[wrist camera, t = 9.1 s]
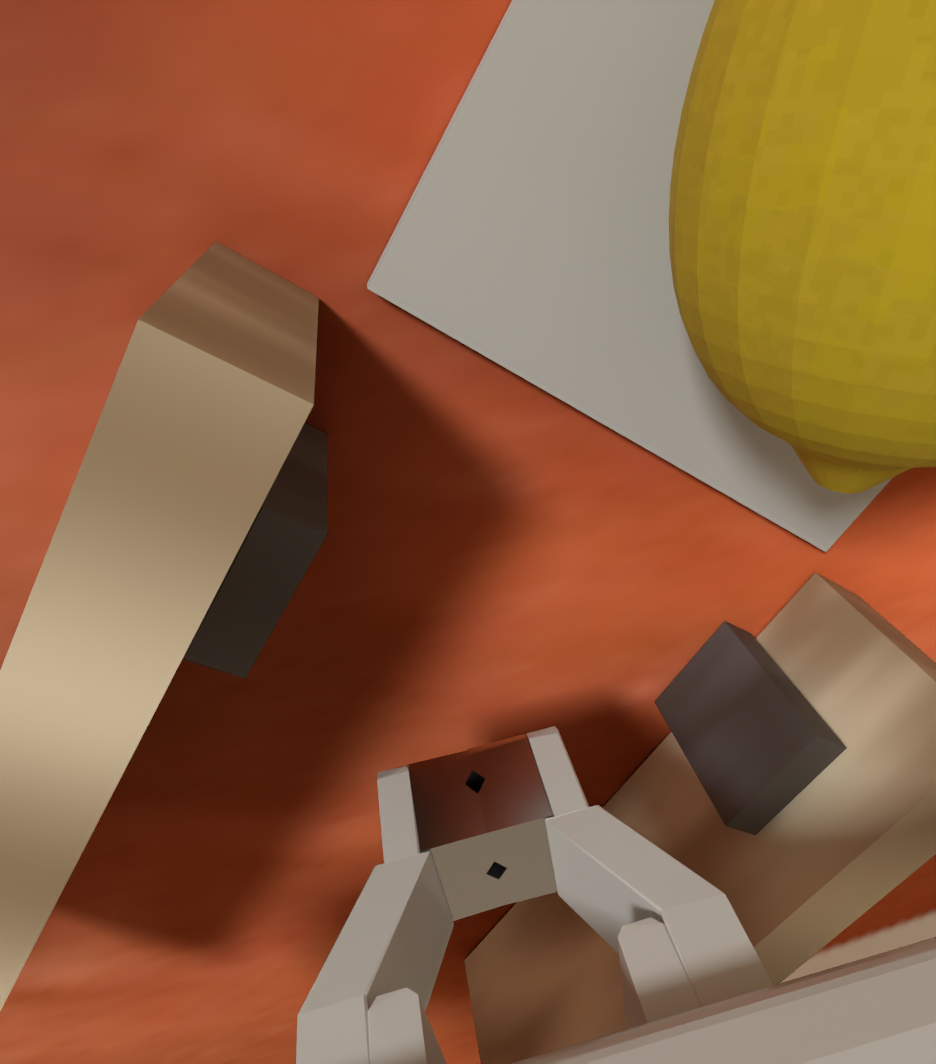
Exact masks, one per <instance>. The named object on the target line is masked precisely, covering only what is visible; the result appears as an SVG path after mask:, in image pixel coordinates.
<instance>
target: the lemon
mask: <svg viewBox="0 0 936 1064" xmlns="http://www.w3.org/2000/svg"><path fill="white" fill-rule="evenodd" d="M669 250H670V261H671V270H672V279H673V286H674V290H675V295H676V299H677V303H678V308H679V312H680V315H681V318H682V321H683V323H684V326H685V328H686V331H687V334H688V336H689V339H690V342H691V344H692V346H693V348H694V351H695V353H696V355H697V357H698V358H699V360H700V362H701V364H702V365H703V367H704V369H705V371H706V373H707V374H708V376H709V378H710V379H711V380H712V382H713V383H714V384H715V386H716V387H717V388H718V389H719V391H720V392H721V393H722V394H723V396H724V397H725V398H726V399H727V400H728V401H729V402H730V403H731V404H733V405H734V406H735V407H736V408H737V409H738V410H739V411H740V412H742V413H743V414H744V415H745V416H746V417H747V418H748V419H750V420H751V421H752V422H753V423H754V424H755V425H757V426H758V427H759V428H761V429H763V430H765V431H767V432H769V433H771V434H772V435H774V436H776V437H778V438H780V439H782V440H784V441H786V442H787V443H789V444H790V445H791V446H792V448H793V449H794V451H795V453H796V454H797V456H798V457H799V459H800V461H801V462H802V464H803V465H804V467H805V468H806V469H807V471H808V472H809V474H810V475H811V477H812V478H813V479H814V481H815V482H816V483H817V484H818V485H820V486H822V487H824V488H826V489H828V490H832V491H835V492H840V493H848V494H854V493H861V492H863V491H865V490H868V489H870V488H872V487H874V486H876V485H878V484H880V483H883V482H885V481H887V480H889V479H891V478H893V477H895V476H897V475H899V474H901V473H903V472H905V471H906V470H908V469H910V468H917V467H936V0H715V1H714V3H713V6H712V9H711V12H710V15H709V18H708V21H707V23H706V26H705V29H704V32H703V35H702V39H701V42H700V45H699V49H698V52H697V55H696V59H695V62H694V65H693V69H692V72H691V76H690V80H689V84H688V88H687V92H686V96H685V100H684V104H683V108H682V112H681V117H680V123H679V128H678V134H677V139H676V144H675V150H674V158H673V167H672V176H671V184H670V203H669Z"/></svg>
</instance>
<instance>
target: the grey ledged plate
mask: <svg viewBox="0 0 936 1064" xmlns="http://www.w3.org/2000/svg"><path fill="white" fill-rule="evenodd" d="M714 1H715V0H512V1H511V3H510V5H509V7H508V9H507V11H506V13H505V15H504V17H503V19H502V21H501V23H500V25H499V27H498V29H497V31H496V33H495V35H494V37H493V39H492V41H491V42H490V44H489V46H488V48H487V50H486V52H485V54H484V56H483V58H482V60H481V62H480V64H479V66H478V68H477V70H476V72H475V74H474V76H473V78H472V80H471V82H470V84H469V85H468V87H467V89H466V91H465V93H464V95H463V97H462V99H461V101H460V103H459V105H458V107H457V109H456V111H455V113H454V115H453V117H452V119H451V121H450V123H449V125H448V127H447V128H446V130H445V132H444V134H443V136H442V138H441V140H440V142H439V144H438V146H437V148H436V150H435V152H434V154H433V156H432V158H431V160H430V162H429V164H428V166H427V168H426V169H425V171H424V173H423V175H422V177H421V179H420V181H419V183H418V185H417V187H416V189H415V191H414V193H413V195H412V197H411V199H410V201H409V203H408V205H407V207H406V209H405V211H404V212H403V214H402V216H401V218H400V220H399V222H398V224H397V226H396V228H395V230H394V232H393V234H392V236H391V238H390V240H389V242H388V244H387V246H386V248H385V250H384V252H383V253H382V255H381V257H380V259H379V261H378V263H377V265H376V267H375V269H374V271H373V273H372V275H371V277H370V279H369V281H368V283H367V288H368V289H369V290H371V291H372V292H374V293H376V294H378V295H379V296H381V297H383V298H385V299H386V300H388V301H390V302H392V303H393V304H395V305H397V306H399V307H400V308H402V309H404V310H405V311H407V312H409V313H411V314H412V315H414V316H416V317H418V318H419V319H421V320H423V321H425V322H426V323H428V324H430V325H432V326H433V327H435V328H437V329H439V330H440V331H442V332H444V333H445V334H447V335H449V336H451V337H452V338H454V339H456V340H458V341H459V342H461V343H463V344H465V345H466V346H468V347H470V348H472V349H473V350H475V351H477V352H479V353H480V354H482V355H484V356H485V357H487V358H489V359H491V360H492V361H494V362H496V363H498V364H499V365H501V366H503V367H505V368H506V369H508V370H510V371H512V372H513V373H515V374H517V375H518V376H520V377H522V378H524V379H525V380H527V381H529V382H531V383H532V384H534V385H536V386H538V387H539V388H541V389H543V390H545V391H546V392H548V393H550V394H552V395H553V396H555V397H557V398H558V399H560V400H562V401H564V402H565V403H567V404H569V405H571V406H572V407H574V408H576V409H578V410H579V411H581V412H583V413H585V414H586V415H588V416H590V417H592V418H593V419H595V420H597V421H598V422H600V423H602V424H604V425H605V426H607V427H609V428H611V429H612V430H614V431H616V432H618V433H619V434H621V435H623V436H625V437H626V438H628V439H630V440H632V441H633V442H635V443H637V444H638V445H640V446H642V447H644V448H645V449H647V450H649V451H651V452H652V453H654V454H656V455H658V456H659V457H661V458H663V459H665V460H666V461H668V462H670V463H671V464H673V465H675V466H677V467H678V468H680V469H682V470H684V471H685V472H687V473H689V474H691V475H692V476H694V477H696V478H698V479H699V480H701V481H703V482H705V483H706V484H708V485H710V486H711V487H713V488H715V489H717V490H718V491H720V492H722V493H724V494H725V495H727V496H729V497H731V498H732V499H734V500H736V501H738V502H739V503H741V504H743V505H745V506H746V507H748V508H750V509H751V510H753V511H755V512H757V513H758V514H760V515H762V516H764V517H765V518H767V519H769V520H771V521H772V522H774V523H776V524H778V525H779V526H781V527H783V528H785V529H786V530H788V531H790V532H791V533H793V534H795V535H797V536H798V537H800V538H802V539H804V540H805V541H807V542H809V543H811V544H812V545H814V546H816V547H818V548H819V549H821V550H823V551H825V552H826V551H827V550H828V549H829V548H830V547H831V546H832V545H833V544H834V543H835V541H836V540H837V539H838V538H839V537H840V536H841V535H842V534H843V533H844V531H845V530H846V529H847V528H848V527H849V526H850V525H851V524H852V523H853V521H854V520H855V519H856V518H857V517H858V516H859V515H860V514H861V513H862V511H863V510H864V509H865V508H866V507H867V506H868V505H869V504H870V503H871V501H872V500H873V499H874V498H875V497H876V496H877V495H878V494H879V493H880V491H881V490H882V489H883V488H884V487H885V486H886V485H887V484H888V483H889V481H890V480H891V479H892V478H891V479H889V480H887V481H885V482H883V483H880V484H878V485H876V486H874V487H872V488H870V489H868V490H865V491H863V492H861V493H854V494H848V493H840V492H835V491H832V490H828V489H826V488H824V487H822V486H820V485H818V484H817V483H816V482H815V481H814V479H813V478H812V477H811V475H810V474H809V472H808V471H807V469H806V468H805V467H804V465H803V464H802V462H801V461H800V459H799V457H798V456H797V454H796V453H795V451H794V449H793V448H792V446H791V445H790V444H789V443H787V442H786V441H784V440H782V439H780V438H778V437H776V436H774V435H772V434H771V433H769V432H767V431H765V430H763V429H761V428H759V427H758V426H757V425H755V424H754V423H753V422H752V421H751V420H750V419H748V418H747V417H746V416H745V415H744V414H743V413H742V412H740V411H739V410H738V409H737V408H736V407H735V406H734V405H733V404H731V403H730V402H729V401H728V400H727V399H726V398H725V397H724V396H723V394H722V393H721V392H720V391H719V389H718V388H717V387H716V386H715V384H714V383H713V382H712V380H711V379H710V378H709V376H708V374H707V373H706V371H705V369H704V367H703V365H702V364H701V362H700V360H699V358H698V357H697V355H696V353H695V351H694V348H693V346H692V344H691V342H690V339H689V336H688V334H687V331H686V328H685V326H684V323H683V321H682V318H681V315H680V312H679V308H678V303H677V299H676V295H675V290H674V286H673V279H672V270H671V261H670V250H669V203H670V184H671V176H672V167H673V158H674V150H675V144H676V139H677V134H678V128H679V123H680V117H681V112H682V108H683V104H684V100H685V96H686V92H687V88H688V84H689V80H690V76H691V72H692V69H693V65H694V62H695V59H696V55H697V52H698V49H699V45H700V42H701V39H702V35H703V32H704V29H705V26H706V23H707V21H708V18H709V15H710V12H711V9H712V6H713V3H714Z"/></svg>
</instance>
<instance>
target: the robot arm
mask: <svg viewBox="0 0 936 1064" xmlns="http://www.w3.org/2000/svg"><path fill="white" fill-rule="evenodd" d="M377 785H378V797H379V809H380V821H381V832H382V844H383V856H384V863H382V864H379V865H376V866H375V867H374V869H373V871H372V872H371V874H370V876H369V878H368V880H367V882H366V884H365V886H364V888H363V890H362V892H361V894H360V896H359V898H358V900H357V901H356V903H355V905H354V907H353V909H352V911H351V913H350V915H349V917H348V919H347V921H346V923H345V925H344V927H343V929H342V931H341V932H340V934H339V936H338V938H337V940H336V942H335V944H334V946H333V948H332V950H331V952H330V954H329V956H328V958H327V960H326V961H325V963H324V965H323V967H322V969H321V971H320V973H319V975H318V977H317V979H316V981H315V983H314V985H313V987H312V989H311V990H310V992H309V994H308V996H307V998H306V1000H305V1002H304V1004H303V1006H302V1008H301V1010H300V1012H299V1014H298V1019H297V1050H296V1064H446V1062H445V1059H444V1057H443V1054H442V1052H441V1049H440V1047H439V1044H438V1042H437V1039H436V1037H435V1035H434V1032H433V1030H432V1027H431V1025H430V1022H429V1020H428V1017H427V1015H426V1009H427V1006H428V1003H429V1000H430V997H431V994H432V991H433V988H434V985H435V981H436V978H437V975H438V972H439V969H440V966H441V963H442V960H443V957H444V954H445V951H446V948H447V945H448V942H449V938H450V935H451V932H452V929H453V926H454V923H453V921H455V920H458V919H462V918H465V917H468V916H471V915H474V914H478V913H481V912H484V911H487V910H490V909H494V908H497V907H500V906H503V905H507V904H511V903H515V902H519V901H523V900H527V899H531V898H535V897H539V896H543V895H547V894H551V893H555V892H558V895H559V896H560V897H561V898H562V899H563V900H564V901H565V902H566V903H567V904H568V905H569V906H570V907H571V908H572V909H573V910H574V911H575V912H576V913H577V914H578V915H579V916H580V917H582V918H583V919H584V920H585V921H586V922H587V923H588V924H589V925H590V926H591V927H592V928H593V929H594V930H595V931H596V932H597V933H598V934H599V935H600V936H601V937H602V938H603V939H604V940H605V941H606V942H607V943H608V944H609V945H610V946H611V947H612V948H613V949H614V950H615V951H616V952H617V953H618V954H619V958H620V969H621V979H622V989H623V1000H624V1010H625V1021H626V1026H627V1029H625V1030H622V1031H619V1032H615V1033H612V1034H608V1035H605V1036H602V1037H598V1038H595V1039H592V1040H588V1041H585V1042H582V1043H578V1044H575V1045H571V1046H568V1047H565V1048H561V1049H558V1050H555V1051H551V1052H548V1053H545V1054H541V1055H538V1056H535V1057H531V1058H528V1059H525V1060H521V1061H518V1062H514V1063H511V1064H936V937H934V938H931V939H928V940H924V941H921V942H918V943H914V944H912V945H908V946H905V947H901V948H898V949H894V950H891V951H888V952H885V953H881V954H878V955H875V956H871V957H868V958H864V959H861V960H857V961H854V962H851V963H847V964H844V965H841V966H837V967H834V968H831V969H827V970H824V971H821V972H817V973H814V974H810V975H807V976H804V977H800V978H797V979H794V980H790V981H787V982H783V983H780V984H777V985H773V983H772V982H771V980H770V978H769V976H768V974H767V972H766V970H765V968H764V966H763V965H762V963H761V961H760V959H759V957H758V955H757V953H756V951H755V949H754V948H753V946H752V944H751V942H750V940H749V938H748V936H747V934H746V932H745V931H744V929H743V927H742V925H741V923H740V921H739V919H738V917H737V915H736V914H735V912H734V910H733V908H732V906H731V904H730V902H729V900H728V899H727V897H726V895H725V894H724V893H723V892H721V891H720V890H719V889H717V888H716V887H714V886H713V885H712V884H710V883H709V882H707V881H706V880H704V879H703V878H702V877H700V876H699V875H697V874H696V873H694V872H693V871H692V870H690V869H689V868H687V867H686V866H685V865H683V864H682V863H680V862H679V861H677V860H676V859H675V858H673V857H672V856H670V855H669V854H667V853H666V852H665V851H663V850H662V849H660V848H659V847H658V846H656V845H655V844H653V843H652V842H650V841H649V840H648V839H646V838H645V837H643V836H642V835H640V834H639V833H638V832H636V831H635V830H633V829H632V828H631V827H629V826H628V825H626V824H625V823H623V822H622V821H621V820H619V819H618V818H616V817H615V816H614V815H612V814H611V813H609V812H608V811H606V810H605V809H604V808H602V807H601V806H599V805H595V806H590V807H589V805H588V803H587V800H586V797H585V795H584V792H583V790H582V787H581V785H580V782H579V780H578V777H577V775H576V772H575V770H574V767H573V765H572V762H571V760H570V757H569V755H568V752H567V750H566V747H565V745H564V742H563V740H562V737H561V735H560V732H559V730H558V729H557V728H556V727H555V726H553V727H549V728H545V729H541V730H538V731H534V732H530V733H527V734H526V735H525V734H521V735H518V736H514V737H511V738H507V739H503V740H500V741H496V742H493V743H489V744H485V745H482V746H478V747H475V748H471V749H468V750H467V751H463V752H459V753H454V754H450V755H446V756H442V757H438V758H433V759H429V760H425V761H421V762H417V763H412V764H409V765H405V766H401V767H397V768H393V769H389V770H385V771H381V772H378V779H377ZM504 902H505V903H504Z"/></svg>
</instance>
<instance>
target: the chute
mask: <svg viewBox="0 0 936 1064" xmlns="http://www.w3.org/2000/svg"><path fill="white" fill-rule="evenodd" d="M318 307H319V298H318V297H316V296H314V295H312V294H310V293H308V292H307V291H305V290H303V289H301V288H299V287H298V286H296V285H294V284H292V283H290V282H289V281H287V280H285V279H283V278H281V277H280V276H278V275H276V274H274V273H272V272H270V271H269V270H267V269H265V268H263V267H261V266H260V265H258V264H256V263H254V262H252V261H251V260H249V259H247V258H245V257H243V256H242V255H240V254H238V253H236V252H234V251H232V250H231V249H229V248H227V247H225V246H223V245H222V244H220V243H218V242H215V243H214V244H213V245H212V246H211V247H210V248H209V249H208V250H207V251H206V252H205V253H204V254H203V255H202V256H201V257H200V258H199V259H198V260H197V261H196V262H195V263H194V264H193V265H192V266H191V267H190V268H189V269H188V270H187V271H186V272H185V273H184V274H183V275H182V276H181V277H180V278H179V279H178V280H177V281H176V282H175V283H174V284H173V285H172V286H171V287H170V288H169V289H168V290H167V291H166V292H165V293H164V294H163V295H162V296H161V297H160V298H159V299H158V300H157V301H156V302H155V303H154V304H153V305H152V306H151V307H150V308H149V309H148V310H147V311H146V312H145V313H144V314H143V315H142V316H141V317H140V318H139V319H138V322H137V324H136V327H135V329H134V332H133V334H132V337H131V340H130V342H129V345H128V347H127V350H126V352H125V355H124V357H123V360H122V362H121V365H120V367H119V370H118V373H117V375H116V378H115V380H114V383H113V385H112V388H111V390H110V393H109V395H108V398H107V401H106V403H105V406H104V408H103V411H102V413H101V416H100V418H99V421H98V423H97V426H96V429H95V431H94V434H93V436H92V439H91V441H90V444H89V446H88V449H87V451H86V454H85V457H84V459H83V462H82V464H81V467H80V469H79V472H78V474H77V477H76V479H75V482H74V485H73V487H72V490H71V492H70V495H69V497H68V500H67V502H66V505H65V507H64V510H63V513H62V515H61V518H60V520H59V523H58V525H57V528H56V530H55V533H54V535H53V538H52V541H51V543H50V546H49V548H48V551H47V553H46V556H45V558H44V561H43V563H42V566H41V569H40V571H39V574H38V576H37V579H36V581H35V584H34V586H33V589H32V591H31V594H30V597H29V599H28V602H27V604H26V607H25V609H24V612H23V614H22V617H21V619H20V622H19V624H18V627H17V630H16V632H15V635H14V637H13V640H12V642H11V645H10V647H9V650H8V652H7V655H6V658H5V660H4V663H3V665H2V668H1V670H0V1011H1V1009H2V1007H3V1005H4V1003H5V1001H6V999H7V997H8V995H9V993H10V991H11V989H12V987H13V986H14V984H15V982H16V980H17V978H18V976H19V974H20V972H21V970H22V968H23V966H24V964H25V962H26V960H27V958H28V957H29V955H30V953H31V951H32V949H33V947H34V945H35V943H36V941H37V939H38V937H39V935H40V933H41V931H42V929H43V928H44V926H45V924H46V922H47V920H48V918H49V916H50V914H51V912H52V910H53V908H54V906H55V904H56V902H57V900H58V899H59V897H60V895H61V893H62V891H63V889H64V887H65V885H66V883H67V881H68V879H69V877H70V875H71V873H72V871H73V869H74V868H75V866H76V864H77V862H78V860H79V858H80V856H81V854H82V852H83V850H84V848H85V846H86V844H87V842H88V840H89V839H90V837H91V835H92V833H93V831H94V829H95V827H96V825H97V823H98V821H99V819H100V817H101V815H102V813H103V811H104V810H105V808H106V806H107V804H108V802H109V800H110V798H111V796H112V794H113V792H114V790H115V788H116V786H117V784H118V782H119V781H120V779H121V777H122V775H123V773H124V771H125V769H126V767H127V765H128V763H129V761H130V759H131V757H132V755H133V753H134V752H135V750H136V748H137V746H138V744H139V742H140V740H141V738H142V736H143V734H144V732H145V730H146V728H147V726H148V724H149V723H150V721H151V719H152V717H153V715H154V713H155V711H156V709H157V707H158V705H159V703H160V701H161V699H162V697H163V695H164V693H165V692H166V690H167V688H168V686H169V684H170V682H171V680H172V678H173V676H174V674H175V672H176V670H177V668H178V666H179V664H180V663H181V661H182V659H183V657H184V655H185V658H184V660H187V661H190V662H193V663H196V664H200V665H203V666H206V667H209V668H213V669H216V670H219V671H222V672H226V673H229V674H232V675H235V676H239V677H242V678H246V677H247V675H248V673H249V671H250V670H251V668H252V666H253V664H254V662H255V661H256V659H257V657H258V655H259V654H260V652H261V650H262V648H263V647H264V645H265V643H266V641H267V640H268V638H269V636H270V634H271V633H272V631H273V629H274V627H275V626H276V624H277V622H278V620H279V619H280V617H281V615H282V613H283V612H284V610H285V608H286V606H287V604H288V603H289V601H290V599H291V597H292V596H293V594H294V592H295V590H296V589H297V587H298V585H299V583H300V582H301V580H302V578H303V576H304V575H305V573H306V571H307V569H308V568H309V566H310V564H311V562H312V561H313V559H314V557H315V555H316V554H317V552H318V550H319V548H320V546H321V545H322V543H323V541H324V539H325V538H326V536H327V433H325V432H323V431H321V430H319V429H317V428H314V427H312V426H310V425H308V424H306V423H305V421H306V419H307V417H308V415H309V413H310V411H311V409H312V407H313V405H314V390H315V369H316V349H317V328H318ZM185 653H186V654H185ZM655 704H656V705H657V707H658V709H659V711H660V712H661V714H662V716H663V718H664V719H665V721H666V723H667V725H668V726H669V728H670V730H671V733H670V734H669V735H668V736H667V737H666V738H665V739H664V740H663V741H662V743H661V744H660V745H659V746H658V747H657V748H656V749H655V750H654V751H653V753H652V754H651V755H650V756H649V757H648V758H647V759H646V760H645V761H644V762H643V764H642V765H641V766H640V767H639V768H638V769H637V770H636V771H635V772H634V774H633V775H632V776H631V777H630V778H629V779H628V780H627V781H626V782H625V783H624V785H623V786H622V787H621V788H620V789H619V790H618V791H617V792H616V793H615V795H614V796H613V797H612V798H611V799H610V800H609V801H608V802H607V803H606V804H605V806H604V807H603V808H604V809H605V810H606V811H608V812H609V813H611V814H612V815H614V816H615V817H616V818H618V819H619V820H621V821H622V822H623V823H625V824H626V825H628V826H629V827H631V828H632V829H633V830H635V831H636V832H638V833H639V834H640V835H642V836H643V837H645V838H646V839H648V840H649V841H650V842H652V843H653V844H655V845H656V846H658V847H659V848H660V849H662V850H663V851H665V852H666V853H667V854H669V855H670V856H672V857H673V858H675V859H676V860H677V861H679V862H680V863H682V864H683V865H685V866H686V867H687V868H689V869H690V870H692V871H693V872H694V873H696V874H697V875H699V876H700V877H702V878H703V879H704V880H706V881H707V882H709V883H710V884H712V885H713V886H714V887H716V888H717V889H719V890H720V891H721V892H723V893H724V894H725V895H726V897H727V899H728V900H729V902H730V904H731V906H732V908H733V910H734V912H735V914H736V915H737V917H738V919H739V921H740V923H741V925H742V927H743V929H744V931H745V932H746V934H747V936H748V938H749V940H750V942H751V944H752V946H753V948H754V949H755V951H756V953H757V955H758V957H759V959H760V961H761V963H762V965H763V966H764V968H765V970H766V972H767V974H768V976H769V978H770V980H771V982H772V983H773V985H777V984H779V983H780V982H782V981H783V980H784V979H785V978H786V977H788V976H789V975H790V974H791V973H793V972H794V971H795V970H796V969H797V968H799V967H800V966H801V965H802V964H803V963H805V962H806V961H807V960H808V959H809V958H811V957H812V956H813V955H814V954H816V953H817V952H818V951H819V950H820V949H822V948H823V947H824V946H825V945H826V944H828V943H829V942H830V941H831V940H832V939H834V938H835V937H836V936H837V935H838V934H840V933H841V932H842V931H843V930H845V929H846V928H847V927H848V926H849V925H851V924H852V923H853V922H854V921H855V920H857V919H858V918H859V917H860V916H861V915H863V914H864V913H865V912H866V911H867V910H869V909H870V908H871V907H872V906H874V905H875V904H876V903H877V902H878V901H880V900H881V899H882V898H883V897H884V896H886V895H887V894H888V893H889V892H890V891H892V890H893V889H894V888H895V887H896V886H898V885H899V884H900V883H901V882H903V881H904V880H905V879H906V878H907V877H909V876H910V875H911V874H912V873H913V872H915V871H916V870H917V869H918V868H919V867H921V866H922V865H923V864H924V863H925V862H927V861H928V860H929V859H930V858H932V857H933V856H934V855H935V854H936V663H935V662H934V661H933V660H931V659H930V658H929V657H928V656H927V655H926V654H925V653H923V652H922V651H921V650H920V649H919V648H918V647H917V646H915V645H914V644H913V643H912V642H911V641H910V640H909V639H907V638H906V637H905V636H904V635H903V634H902V633H901V632H900V631H898V630H897V629H896V628H895V627H894V626H893V625H892V624H890V623H889V622H888V621H887V620H886V619H885V618H884V617H882V616H881V615H880V614H879V613H878V612H877V611H876V610H874V609H873V608H872V607H871V606H870V605H869V604H868V603H866V602H865V601H864V600H863V599H862V598H861V597H859V596H857V595H855V594H853V593H852V592H850V591H848V590H846V589H844V588H843V587H841V586H839V585H837V584H835V583H834V582H832V581H830V580H828V579H826V578H824V577H823V576H821V575H819V574H817V573H815V574H814V575H813V576H812V577H811V578H810V579H809V580H808V581H807V582H806V583H805V585H804V586H803V587H802V588H801V589H800V590H799V591H798V592H797V593H796V595H795V596H794V597H793V598H792V599H791V600H790V601H789V602H788V603H787V604H786V606H785V607H784V608H783V609H782V610H781V611H780V612H779V613H778V614H777V616H776V617H775V618H774V619H773V620H772V621H771V622H770V623H769V624H768V625H767V627H766V628H765V629H764V630H763V631H762V632H761V633H760V634H759V635H758V637H757V638H756V639H755V638H754V637H753V636H752V634H750V633H748V632H746V631H744V630H742V629H740V628H738V627H736V626H733V625H731V624H729V623H727V622H724V623H723V624H722V625H721V626H720V627H719V628H718V630H717V631H716V632H715V633H714V634H713V635H712V637H711V638H710V639H709V640H708V641H707V642H706V643H705V645H704V646H703V647H702V648H701V649H700V650H699V651H698V653H697V654H696V655H695V656H694V657H693V658H692V659H691V661H690V662H689V663H688V664H687V665H686V666H685V667H684V669H683V670H682V671H681V672H680V673H679V674H678V675H677V677H676V678H675V679H674V680H673V681H672V682H671V683H670V685H669V686H668V687H667V688H666V689H665V690H664V691H663V693H662V694H661V695H660V696H659V697H658V698H657V699H656V701H655ZM464 963H465V970H466V976H467V982H468V988H469V994H470V1000H471V1006H472V1012H473V1018H474V1024H475V1030H476V1036H477V1042H478V1048H479V1054H480V1061H481V1064H511V1063H514V1062H518V1061H521V1060H525V1059H528V1058H531V1057H535V1056H538V1055H541V1054H545V1053H548V1052H551V1051H555V1050H558V1049H561V1048H565V1047H568V1046H571V1045H575V1044H578V1043H582V1042H585V1041H588V1040H592V1039H595V1038H598V1037H602V1036H605V1035H608V1034H612V1033H615V1032H619V1031H622V1030H625V1029H627V1026H626V1021H625V1010H624V1000H623V989H622V979H621V969H620V958H619V954H618V953H617V952H616V951H615V950H614V949H613V948H612V947H611V946H610V945H609V944H608V943H607V942H606V941H605V940H604V939H603V938H602V937H601V936H600V935H599V934H598V933H597V932H596V931H595V930H594V929H593V928H592V927H591V926H590V925H589V924H588V923H587V922H586V921H585V920H584V919H583V918H582V917H580V916H579V915H578V914H577V913H576V912H575V911H574V910H573V909H572V908H571V907H570V906H569V905H568V904H567V903H566V902H565V901H564V900H563V899H562V898H561V897H560V896H559V895H558V892H555V893H551V894H547V895H543V896H539V897H535V898H531V899H527V900H523V901H519V902H517V903H516V904H515V905H514V906H513V907H512V908H511V909H510V911H509V912H508V913H507V914H506V915H505V916H504V917H503V918H502V919H501V921H500V922H499V923H498V924H497V925H496V926H495V927H494V928H493V929H492V930H491V932H490V933H489V934H488V935H487V936H486V937H485V938H484V939H483V940H482V942H481V943H480V944H479V945H478V946H477V947H476V948H475V949H474V950H473V951H472V953H471V954H470V955H469V956H468V957H467V958H466V959H465V960H464Z"/></svg>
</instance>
